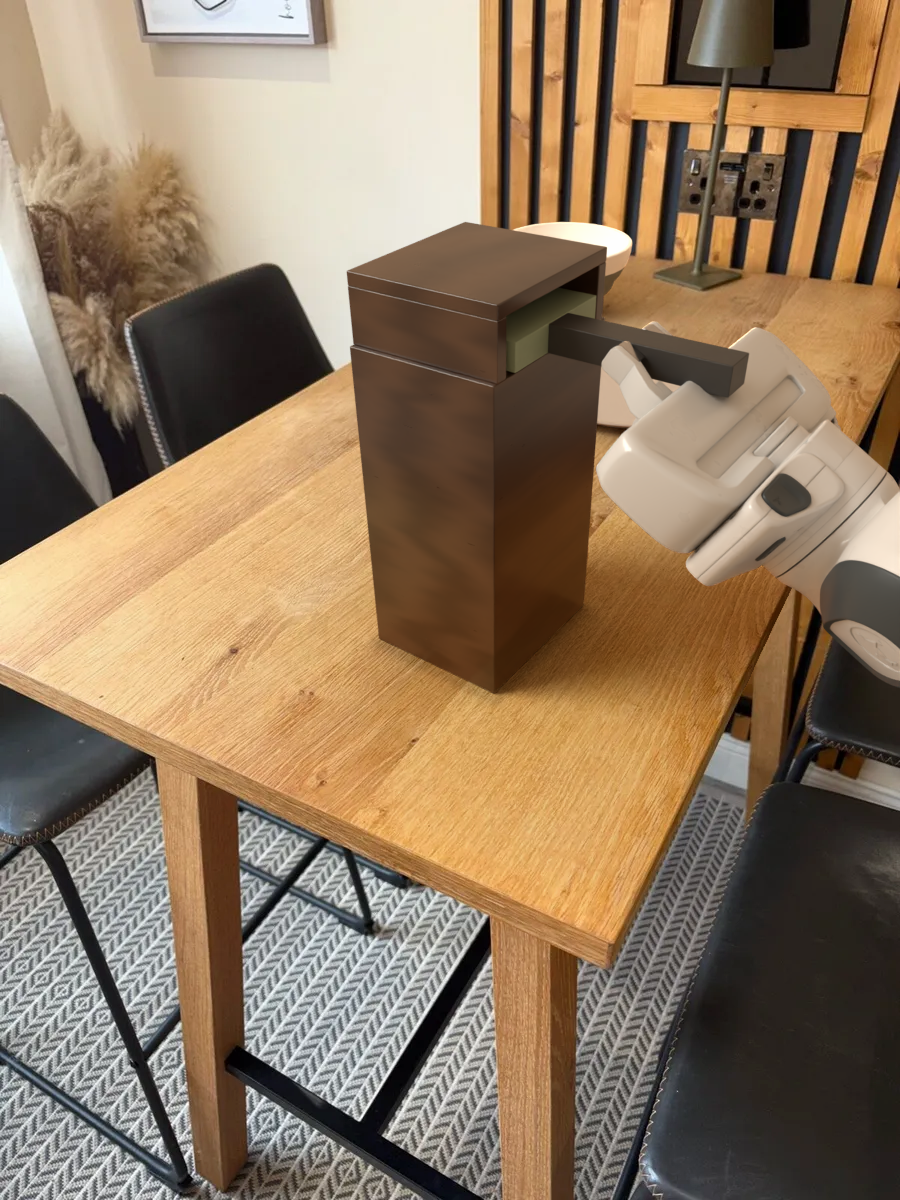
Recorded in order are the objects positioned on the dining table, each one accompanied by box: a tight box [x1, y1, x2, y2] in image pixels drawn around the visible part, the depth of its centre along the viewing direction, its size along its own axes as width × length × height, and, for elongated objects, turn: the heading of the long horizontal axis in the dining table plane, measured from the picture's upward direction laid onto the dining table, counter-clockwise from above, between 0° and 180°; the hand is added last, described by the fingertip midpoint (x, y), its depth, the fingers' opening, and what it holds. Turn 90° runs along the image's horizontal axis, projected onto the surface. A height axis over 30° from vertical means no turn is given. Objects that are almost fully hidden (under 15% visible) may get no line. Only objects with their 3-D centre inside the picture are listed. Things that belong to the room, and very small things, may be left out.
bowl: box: [513, 221, 633, 296], centre depth 138 cm, size 20×20×10 cm
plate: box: [597, 366, 680, 429], centre depth 115 cm, size 26×26×2 cm
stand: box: [346, 221, 607, 694], centre depth 71 cm, size 12×14×31 cm
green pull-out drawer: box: [506, 288, 749, 398], centre depth 60 cm, size 22×10×2 cm, turn 53°
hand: (626, 341), depth 58 cm, fingers closed on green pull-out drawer, 2 cm apart
